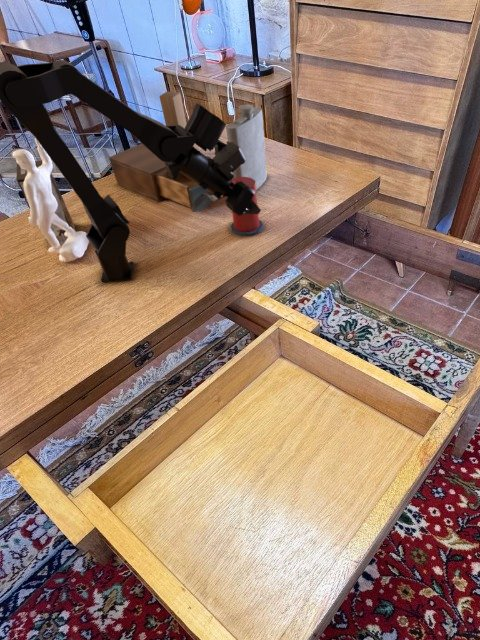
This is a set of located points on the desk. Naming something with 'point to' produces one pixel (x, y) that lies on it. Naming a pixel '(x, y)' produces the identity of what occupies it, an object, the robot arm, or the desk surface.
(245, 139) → the hip flask
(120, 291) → the desk surface
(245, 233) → the mat
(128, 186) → the cabinet
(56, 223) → the figurine
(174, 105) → the wooden block
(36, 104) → the robot arm
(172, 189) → the drawer
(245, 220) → the can
